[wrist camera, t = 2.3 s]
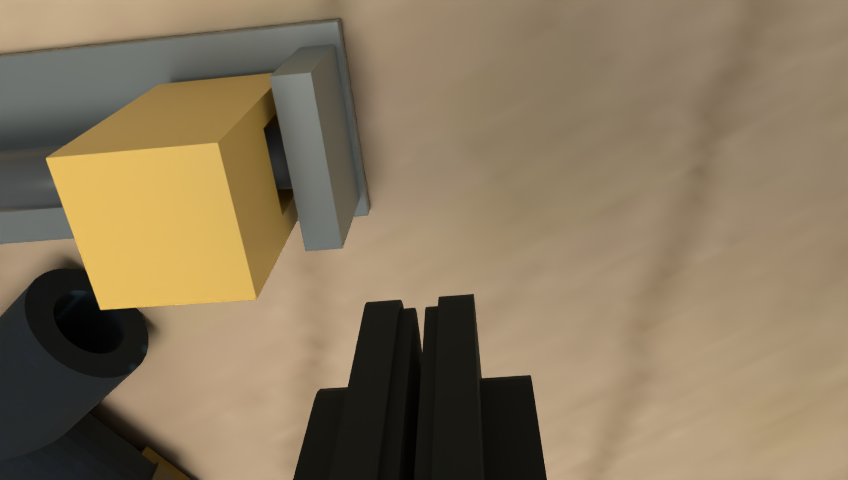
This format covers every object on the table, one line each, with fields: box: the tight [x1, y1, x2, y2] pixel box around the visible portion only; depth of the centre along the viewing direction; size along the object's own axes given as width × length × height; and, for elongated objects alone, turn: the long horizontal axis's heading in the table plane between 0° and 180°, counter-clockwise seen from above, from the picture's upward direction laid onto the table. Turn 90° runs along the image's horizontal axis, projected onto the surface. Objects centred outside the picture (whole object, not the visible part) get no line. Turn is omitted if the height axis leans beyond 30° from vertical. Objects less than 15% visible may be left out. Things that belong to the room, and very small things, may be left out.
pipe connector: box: [0, 269, 191, 480], centre depth 31 cm, size 12×5×15 cm
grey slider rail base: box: [0, 19, 370, 251], centre depth 24 cm, size 20×7×5 cm, turn 96°
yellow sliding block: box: [46, 73, 299, 310], centre depth 22 cm, size 4×4×7 cm
